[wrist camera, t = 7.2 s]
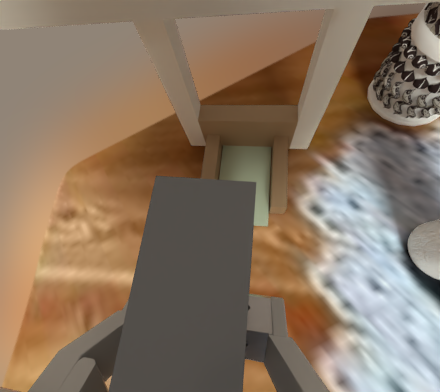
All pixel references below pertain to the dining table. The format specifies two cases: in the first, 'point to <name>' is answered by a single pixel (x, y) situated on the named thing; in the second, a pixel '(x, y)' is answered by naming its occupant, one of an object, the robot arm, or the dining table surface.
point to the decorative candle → (411, 73)
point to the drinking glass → (426, 248)
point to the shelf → (225, 114)
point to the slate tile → (189, 290)
